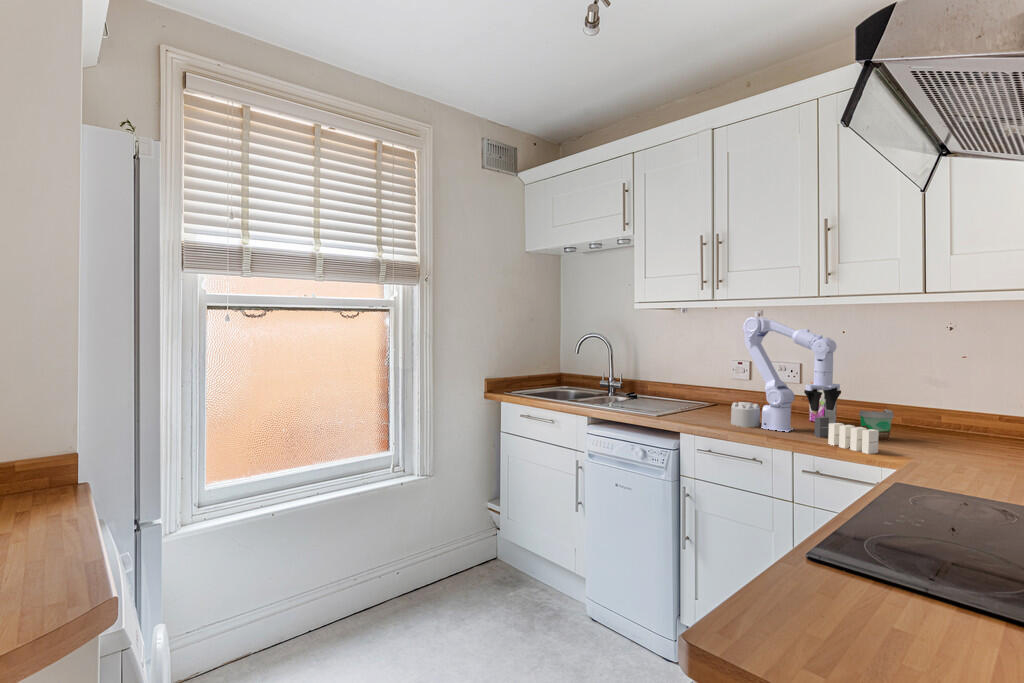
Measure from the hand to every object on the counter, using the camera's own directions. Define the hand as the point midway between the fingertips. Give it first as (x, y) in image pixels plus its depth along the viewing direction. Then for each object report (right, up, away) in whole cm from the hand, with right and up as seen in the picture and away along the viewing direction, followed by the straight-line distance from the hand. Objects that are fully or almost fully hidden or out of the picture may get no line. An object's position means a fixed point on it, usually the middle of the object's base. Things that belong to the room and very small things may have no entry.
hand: (822, 410), depth 180 cm
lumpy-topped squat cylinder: (-17, -9, +22) cm, 29 cm away
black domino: (0, -9, 0) cm, 9 cm away
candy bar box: (+16, -9, +26) cm, 32 cm away
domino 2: (-1, -10, -15) cm, 18 cm away
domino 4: (+1, -10, -22) cm, 25 cm away
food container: (+18, -10, -3) cm, 21 cm away
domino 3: (0, -10, -19) cm, 21 cm away
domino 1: (-3, -10, -12) cm, 16 cm away
